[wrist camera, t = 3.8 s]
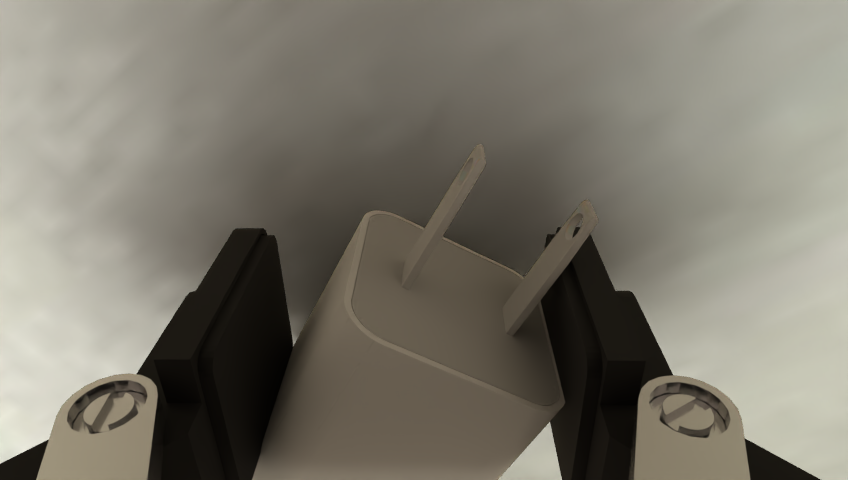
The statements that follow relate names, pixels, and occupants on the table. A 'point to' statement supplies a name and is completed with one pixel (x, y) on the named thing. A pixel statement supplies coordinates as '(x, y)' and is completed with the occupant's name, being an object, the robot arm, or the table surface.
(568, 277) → the robot arm
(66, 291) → the table surface
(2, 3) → the table surface
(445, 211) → the usb wall charger
